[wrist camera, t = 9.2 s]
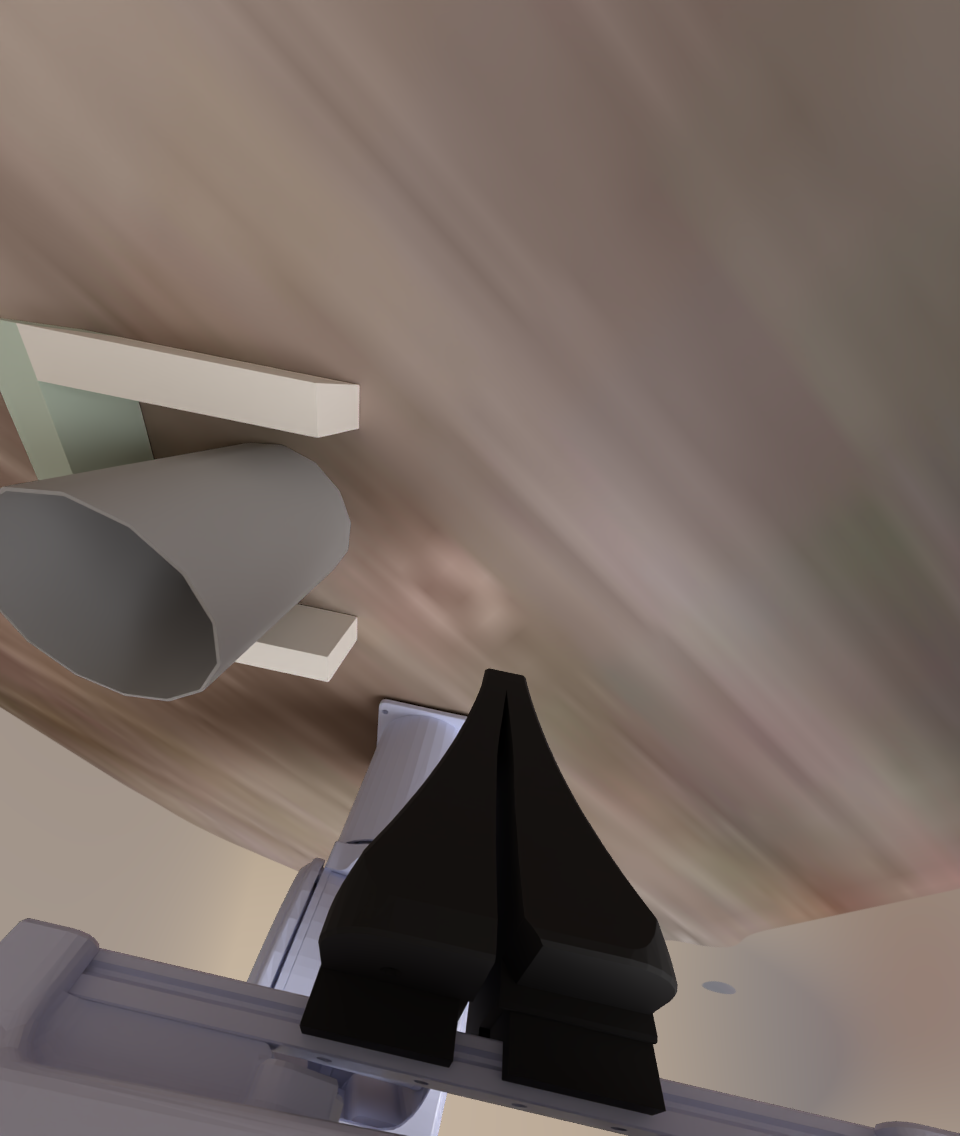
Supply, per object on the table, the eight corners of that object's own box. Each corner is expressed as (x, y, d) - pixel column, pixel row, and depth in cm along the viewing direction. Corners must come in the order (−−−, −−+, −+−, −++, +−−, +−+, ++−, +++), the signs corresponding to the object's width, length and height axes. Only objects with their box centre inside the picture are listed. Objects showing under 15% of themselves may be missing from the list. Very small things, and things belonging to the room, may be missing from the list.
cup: (186, 496, 21) (-68, 575, 12) (268, 408, 18) (16, 423, 9) (292, 599, 23) (150, 727, 14) (379, 536, 20) (268, 647, 12)
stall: (356, 639, 24) (328, 682, 21) (164, 598, 24) (103, 633, 21) (359, 384, 17) (315, 383, 13) (82, 329, 17) (-34, 313, 13)
